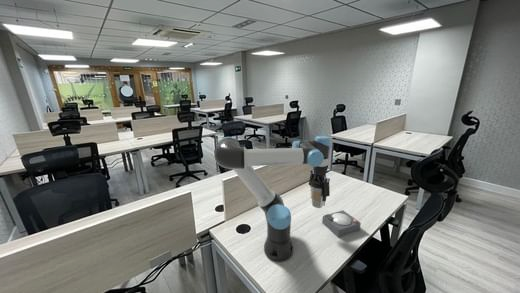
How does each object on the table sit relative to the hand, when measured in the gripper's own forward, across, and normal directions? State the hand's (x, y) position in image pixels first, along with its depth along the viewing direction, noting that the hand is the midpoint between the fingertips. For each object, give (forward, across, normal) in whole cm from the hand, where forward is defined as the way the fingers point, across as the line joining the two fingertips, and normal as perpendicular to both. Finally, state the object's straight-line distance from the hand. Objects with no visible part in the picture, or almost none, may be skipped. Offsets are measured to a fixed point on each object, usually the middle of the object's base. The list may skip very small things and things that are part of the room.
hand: (317, 201), depth 116 cm
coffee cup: (+3, 0, 0) cm, 3 cm away
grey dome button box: (+18, -4, -15) cm, 24 cm away
